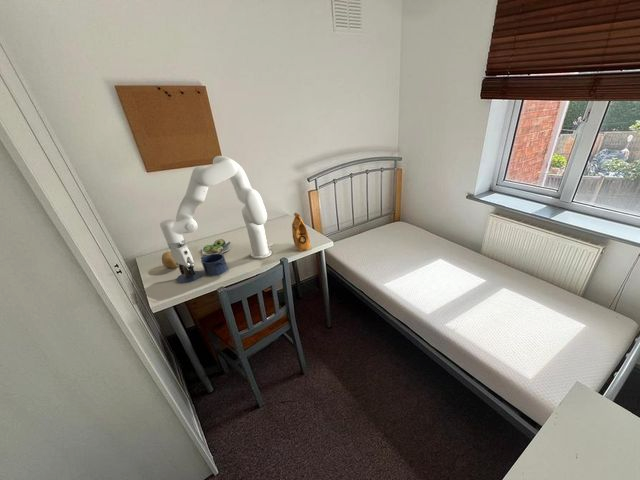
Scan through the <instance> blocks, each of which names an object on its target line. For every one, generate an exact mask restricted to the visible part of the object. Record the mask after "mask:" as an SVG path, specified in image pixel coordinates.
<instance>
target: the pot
mask: <svg viewBox="0 0 640 480" xmlns="http://www.w3.org/2000/svg"><path fill="white" fill-rule="evenodd" d="M200 263H201V265H202V268H203V272H204V274H205V276H208V277H216V276H220V275H223V274H225V273H226V272H228V265H227V262H226V259H225V255H224V254H211V255H208V256H206V255H203V256H201V257H200Z"/></svg>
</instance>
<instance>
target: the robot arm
mask: <svg viewBox="0 0 640 480" xmlns="http://www.w3.org/2000/svg"><path fill="white" fill-rule="evenodd" d="M228 179H229V180H230V182H231V184H232V186H233V187H232V188H233V189H234V192H235V194H236V198H237V200H238V201H239V202H240V203H242V204H243V205H244V206H243V207H242V210H241V211H242V212H241V215H242V218H243V221H244V224H245V227H246V230H247V234H248V239H249V243H250V247H251V252H250V257H251V258H252V259H255V260H257V259H258V260H259V259H265V258H268V257H269V256H271V255H272V253H273V251H272V250H271V248H272V247H274V244H273V243H272V242H271V243H268V240H267V236H266V230H265V227H264V224H266V222H267V221H268V214H267V210H266V207H265V204H264V201H263V198H262V196H261V194H260V193H259V191H257V190H256V189H255V188H252V186H251V183H250V180H249V178H248V176H247V173H246V172H245V170H244V168H243V167H242V166H241V165H240V164H239V163H238V162H237V161H235V160H234V159H232V158H230V157H227V156H225V155H216V156H215V157H214V158H213V160H212V165H210V166H207V167H206V166H204V165H199V166H195V167H194V168H193V169H192V172H191V175H190V178H189V182H188V186H187V188H186V192H185V193H184V196H183V198H182V199H181V202H180V204H179V206H178V209H177V213H176V215H175V219H165V220H163V221H161V222H160V223H159V226H160V229H161V231H162V234H163V236H164V239H165V241H166V244H167V246H168V249H169V250H170V251H169V252H171V254H172V257H173V260H174V261H175V263H176V264H177V265H178V267H177V268H178V269H179V271H180V275H181V274H185V273H184V271H183V268H182V267H183V266H186V268H187V269H188V270H187V272H188V274H189V277H191V276H193V275H195V272H194V271H195V270H194V269H195V268H194V267H195V266H196V264H195V260H194V257H193V256H192V252H191V251H190V249H189V247H188V246H187V244H186V241H185V239H184V236H183V235H184V234H193V233H194V232H196V231H197V229H198V226H199V225H198V223H197V221H196V220H195V219H194V216H195V212H196V210H197V208H198V206H200V205H201V204H203V203H204V202H205V200H206V198H207V195H208V191H209V188H210V187H214V186H216V185H218V184H220V183H222V182H225V181H227V180H228ZM188 266H189V267H188Z"/></svg>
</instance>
